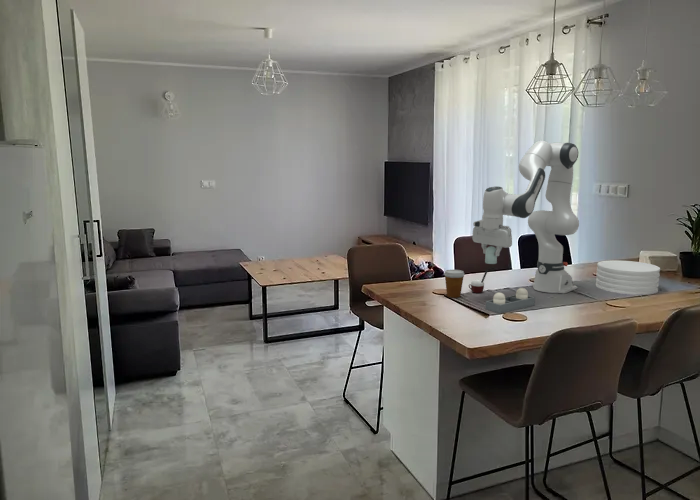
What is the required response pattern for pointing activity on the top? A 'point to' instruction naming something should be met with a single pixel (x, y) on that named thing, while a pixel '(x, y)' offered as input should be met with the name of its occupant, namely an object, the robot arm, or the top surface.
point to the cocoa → (478, 284)
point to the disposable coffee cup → (454, 282)
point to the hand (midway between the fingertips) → (491, 254)
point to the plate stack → (627, 277)
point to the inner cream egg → (522, 293)
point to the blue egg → (490, 255)
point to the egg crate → (510, 304)
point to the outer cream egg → (499, 298)
